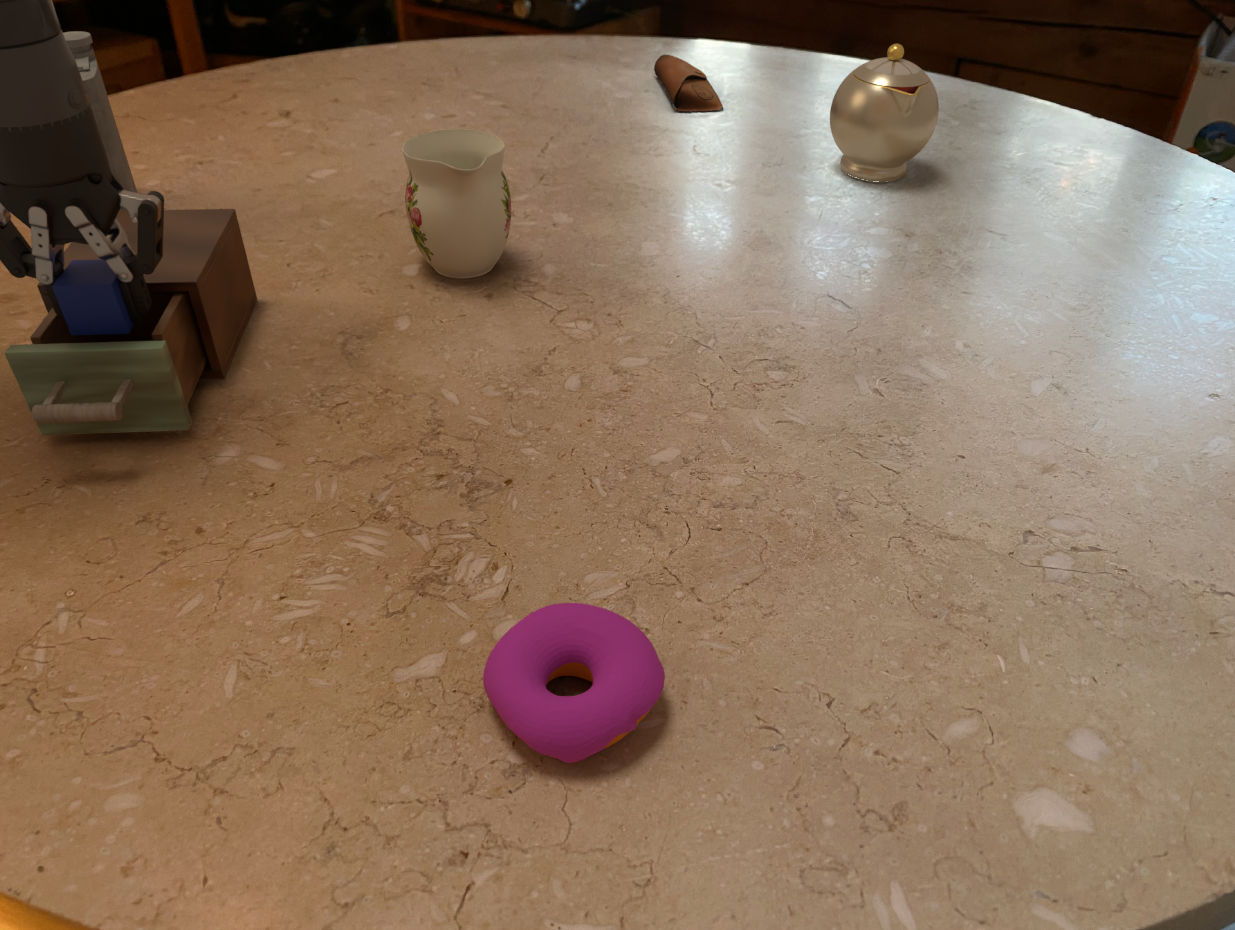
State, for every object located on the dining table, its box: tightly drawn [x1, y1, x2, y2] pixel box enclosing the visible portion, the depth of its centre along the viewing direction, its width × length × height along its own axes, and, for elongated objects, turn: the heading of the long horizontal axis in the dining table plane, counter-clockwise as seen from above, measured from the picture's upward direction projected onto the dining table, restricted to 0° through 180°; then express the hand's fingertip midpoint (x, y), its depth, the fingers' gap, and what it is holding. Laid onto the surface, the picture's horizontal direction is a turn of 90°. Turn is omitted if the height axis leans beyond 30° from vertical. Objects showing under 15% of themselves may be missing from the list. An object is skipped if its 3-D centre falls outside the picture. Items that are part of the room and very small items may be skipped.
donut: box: [482, 602, 666, 764], centre depth 57 cm, size 10×10×5 cm
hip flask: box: [63, 30, 138, 211], centre depth 105 cm, size 16×4×20 cm, turn 28°
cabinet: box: [36, 208, 258, 381], centre depth 87 cm, size 15×13×10 cm
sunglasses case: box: [653, 54, 724, 113], centre depth 150 cm, size 18×7×7 cm, turn 8°
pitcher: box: [401, 128, 512, 279], centre depth 100 cm, size 11×18×14 cm, turn 19°
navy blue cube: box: [52, 259, 135, 335], centre depth 75 cm, size 4×4×4 cm
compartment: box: [4, 291, 208, 436], centre depth 78 cm, size 18×12×8 cm, turn 5°
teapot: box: [829, 43, 940, 184], centre depth 123 cm, size 18×14×16 cm
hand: (107, 317), depth 76 cm, fingers closed on navy blue cube, 4 cm apart
